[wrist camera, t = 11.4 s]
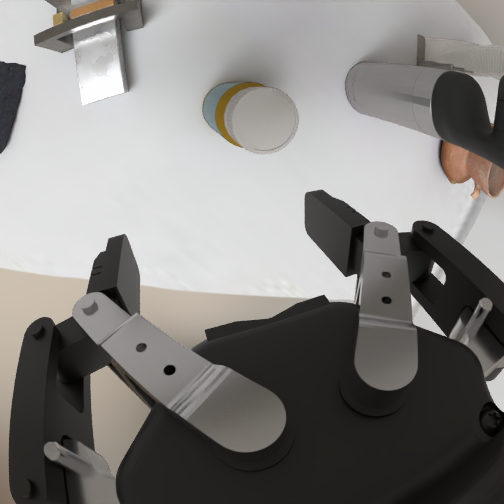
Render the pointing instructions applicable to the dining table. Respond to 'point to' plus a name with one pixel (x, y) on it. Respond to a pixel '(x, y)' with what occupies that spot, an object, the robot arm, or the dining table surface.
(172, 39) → the dining table surface
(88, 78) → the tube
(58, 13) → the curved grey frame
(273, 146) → the bottle
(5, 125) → the dark slate chunk
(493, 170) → the ceramic jug
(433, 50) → the skyscraper
